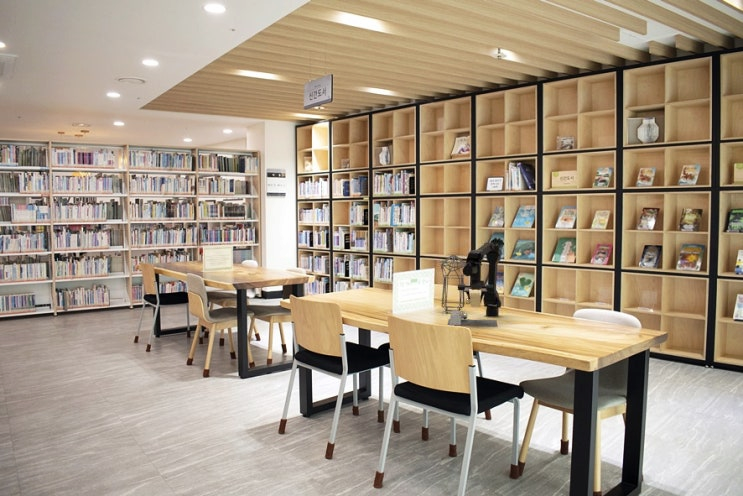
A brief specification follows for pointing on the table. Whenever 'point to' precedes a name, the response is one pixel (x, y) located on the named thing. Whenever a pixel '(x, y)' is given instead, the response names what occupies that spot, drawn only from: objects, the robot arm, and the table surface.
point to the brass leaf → (474, 300)
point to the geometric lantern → (453, 278)
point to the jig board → (477, 323)
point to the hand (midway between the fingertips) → (475, 303)
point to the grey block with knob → (457, 317)
